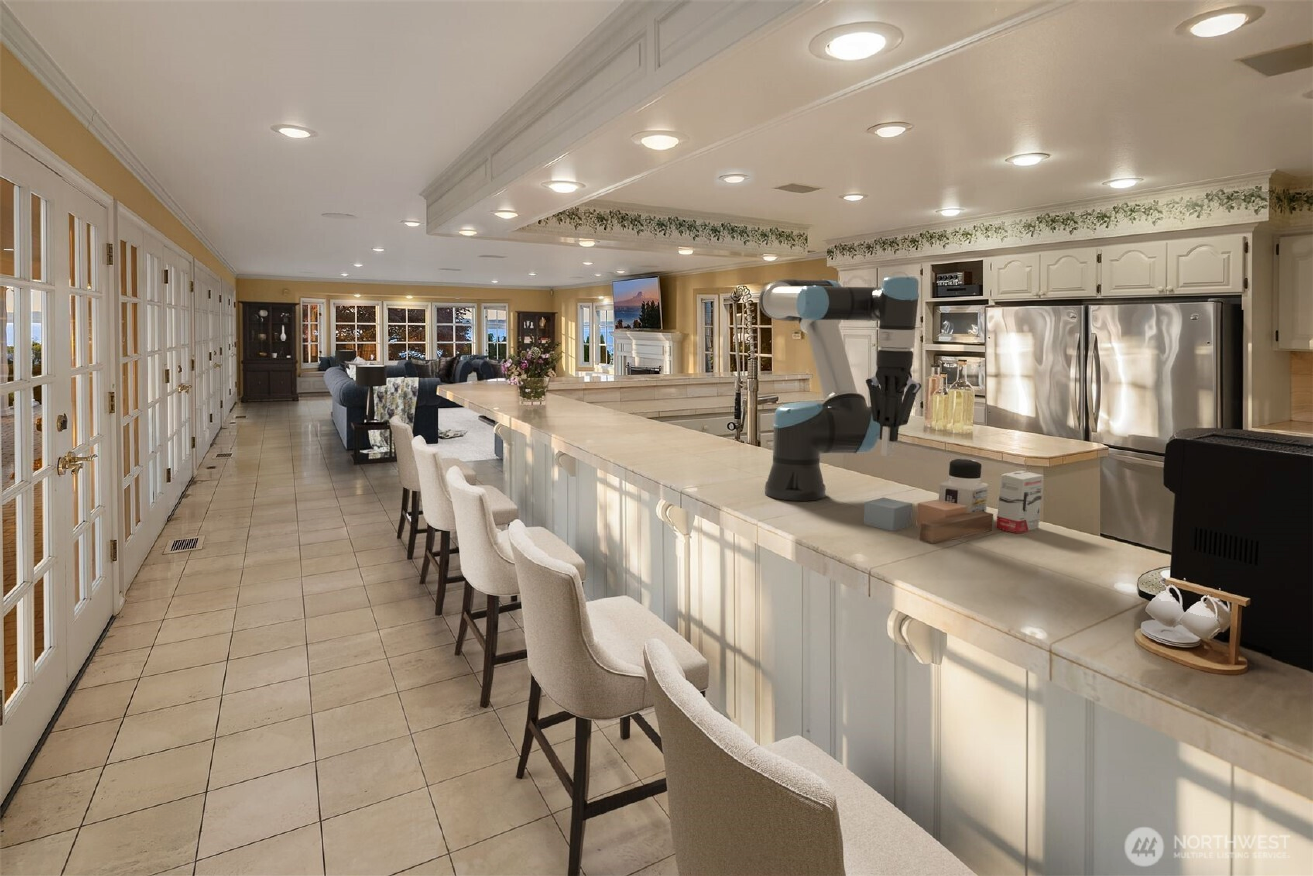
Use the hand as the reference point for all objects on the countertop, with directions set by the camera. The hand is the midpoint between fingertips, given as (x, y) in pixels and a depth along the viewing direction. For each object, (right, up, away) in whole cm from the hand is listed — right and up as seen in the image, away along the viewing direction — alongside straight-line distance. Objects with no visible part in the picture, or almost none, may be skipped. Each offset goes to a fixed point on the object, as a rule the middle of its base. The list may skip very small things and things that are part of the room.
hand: (887, 454), depth 158 cm
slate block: (-2, -15, -6) cm, 16 cm away
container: (+17, -14, +1) cm, 22 cm away
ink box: (+25, -16, -8) cm, 31 cm away
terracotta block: (+9, -15, -7) cm, 19 cm away
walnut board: (+10, -16, -13) cm, 23 cm away
